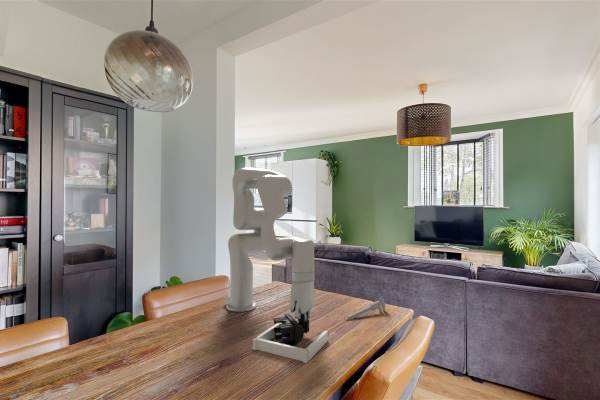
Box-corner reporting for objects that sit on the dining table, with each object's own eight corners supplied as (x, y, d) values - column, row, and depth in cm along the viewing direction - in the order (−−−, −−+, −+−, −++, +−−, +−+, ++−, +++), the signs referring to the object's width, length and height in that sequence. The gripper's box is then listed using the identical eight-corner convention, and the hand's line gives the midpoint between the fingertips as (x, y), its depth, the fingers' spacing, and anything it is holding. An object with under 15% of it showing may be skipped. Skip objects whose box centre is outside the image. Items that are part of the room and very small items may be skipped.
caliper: (383, 311, 127) (383, 296, 128) (385, 312, 127) (385, 296, 127) (344, 320, 117) (344, 303, 117) (346, 321, 116) (346, 304, 116)
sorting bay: (252, 349, 93) (252, 339, 93) (279, 330, 107) (279, 321, 107) (306, 363, 85) (306, 352, 85) (327, 340, 99) (327, 331, 99)
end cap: (304, 344, 95) (304, 322, 95) (282, 349, 93) (282, 326, 93) (294, 332, 105) (293, 312, 105) (273, 336, 102) (273, 315, 102)
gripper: (302, 271, 111) (303, 322, 110) (282, 280, 98) (282, 338, 97) (322, 273, 108) (322, 326, 107) (303, 282, 94) (304, 342, 94)
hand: (303, 331), depth 102 cm, fingers closed
